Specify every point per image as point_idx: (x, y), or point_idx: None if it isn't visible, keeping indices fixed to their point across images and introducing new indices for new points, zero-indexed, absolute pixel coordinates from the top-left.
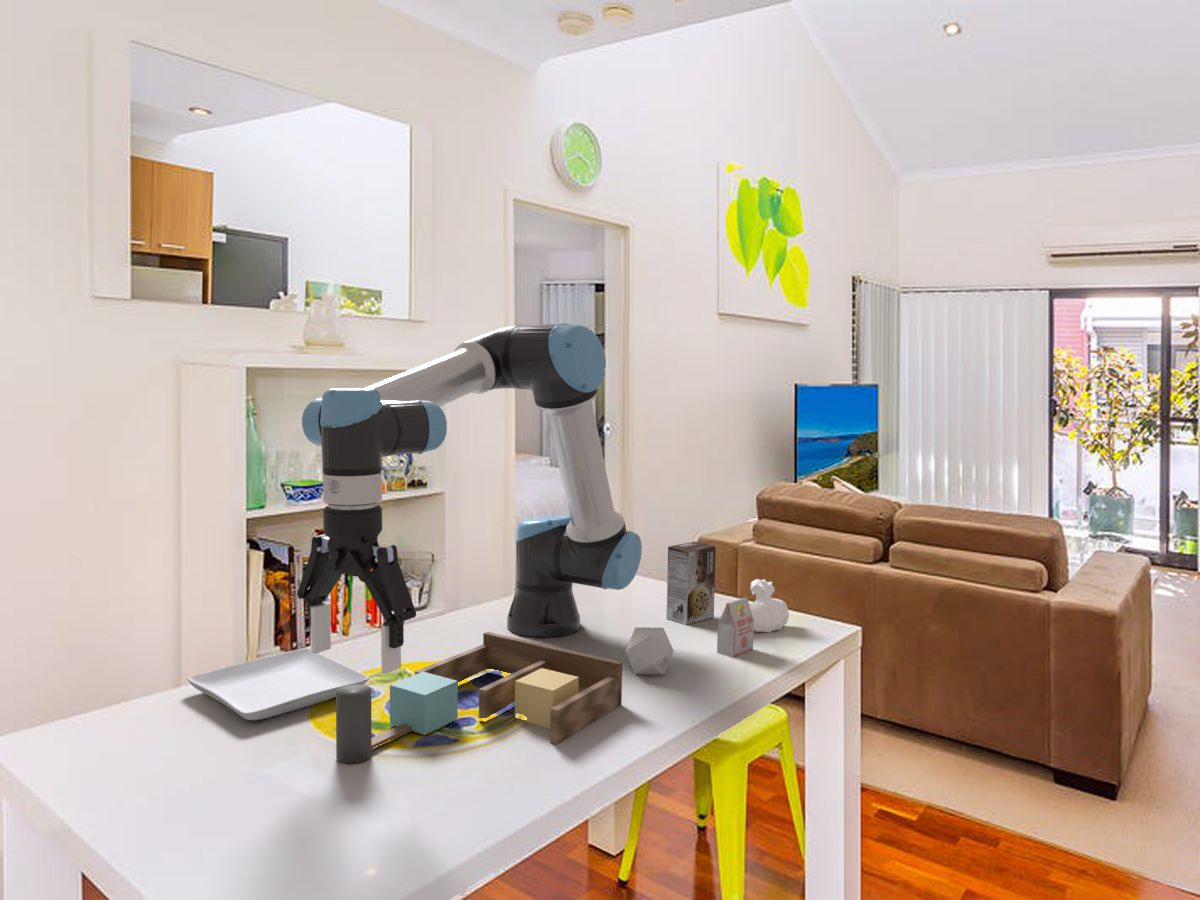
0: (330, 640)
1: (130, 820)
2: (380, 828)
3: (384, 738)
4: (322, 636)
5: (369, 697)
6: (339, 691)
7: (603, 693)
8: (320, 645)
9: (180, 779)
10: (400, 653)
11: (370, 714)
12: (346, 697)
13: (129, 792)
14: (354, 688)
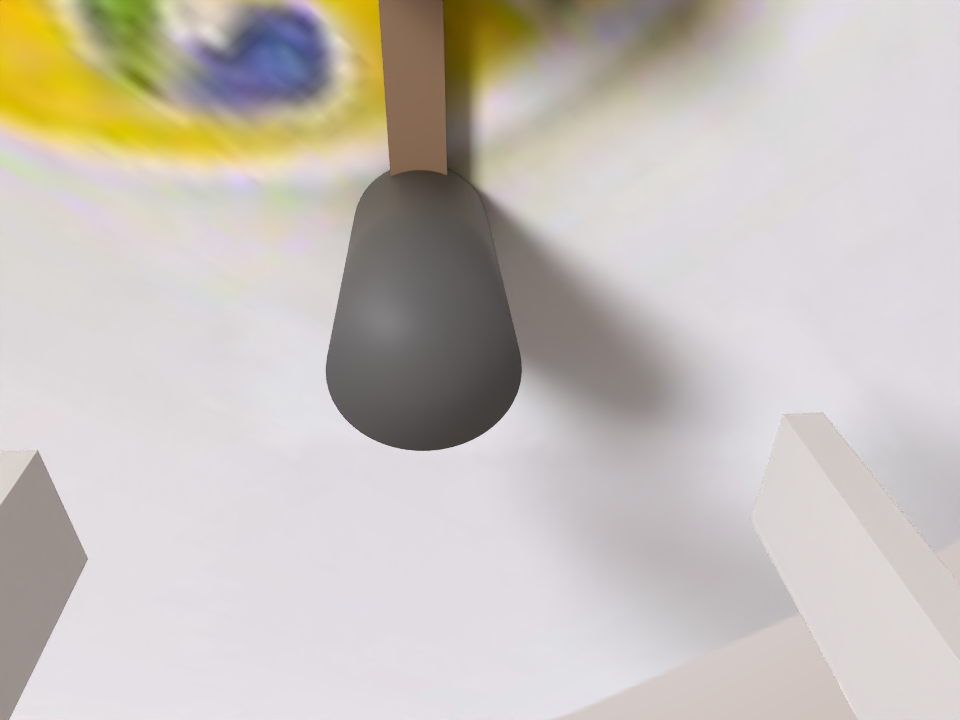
0: (3, 502)
1: (284, 679)
2: None
3: (436, 81)
4: (10, 613)
5: (513, 328)
6: (373, 422)
7: None
8: (52, 568)
9: (154, 573)
10: (883, 493)
11: (496, 270)
12: (464, 439)
13: (142, 647)
14: (401, 355)
